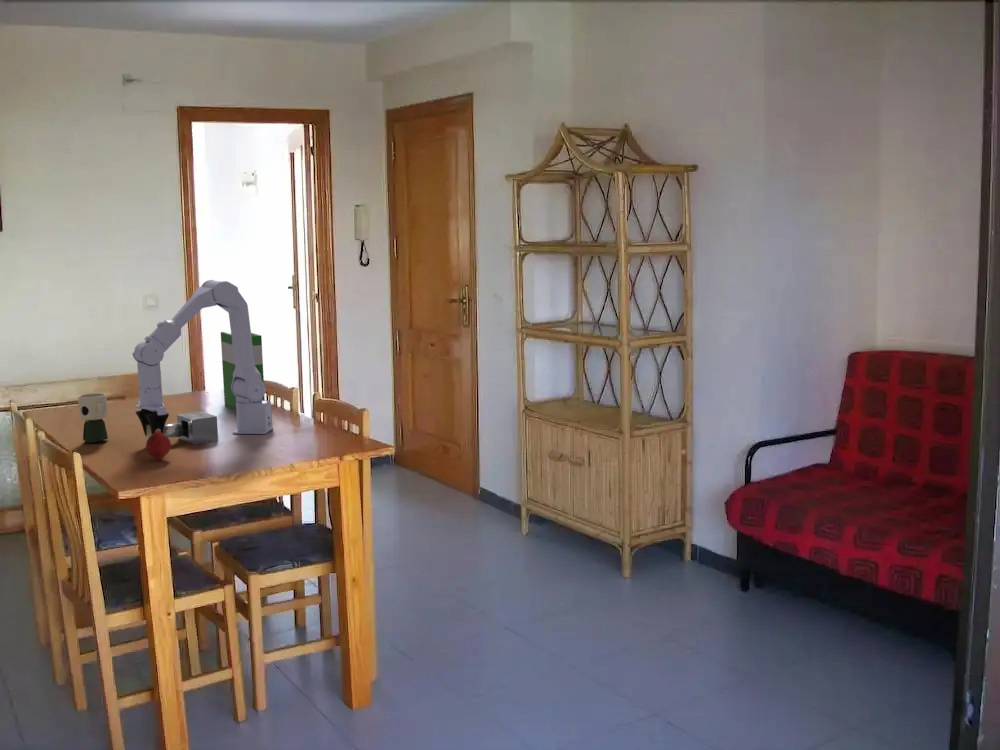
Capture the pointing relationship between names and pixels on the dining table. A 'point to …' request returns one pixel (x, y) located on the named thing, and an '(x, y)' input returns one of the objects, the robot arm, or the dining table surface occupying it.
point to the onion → (158, 445)
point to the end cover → (167, 430)
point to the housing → (198, 427)
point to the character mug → (93, 416)
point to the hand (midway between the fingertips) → (153, 437)
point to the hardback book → (229, 364)
